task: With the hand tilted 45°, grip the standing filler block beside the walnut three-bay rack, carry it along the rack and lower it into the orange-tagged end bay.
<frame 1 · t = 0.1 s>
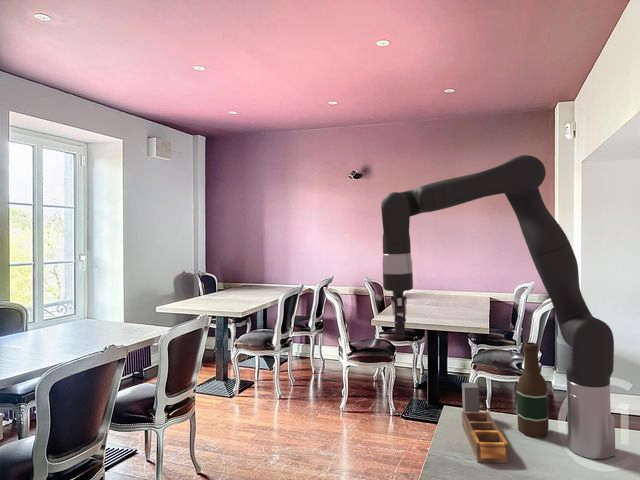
hand: (399, 334, 118), 29 cm above the table, tool pointing down, fingers open, 8 cm apart
beer bottle: (533, 432, 125), on the table
bay rack: (483, 442, 120), on the table
filler block: (471, 417, 135), on the table
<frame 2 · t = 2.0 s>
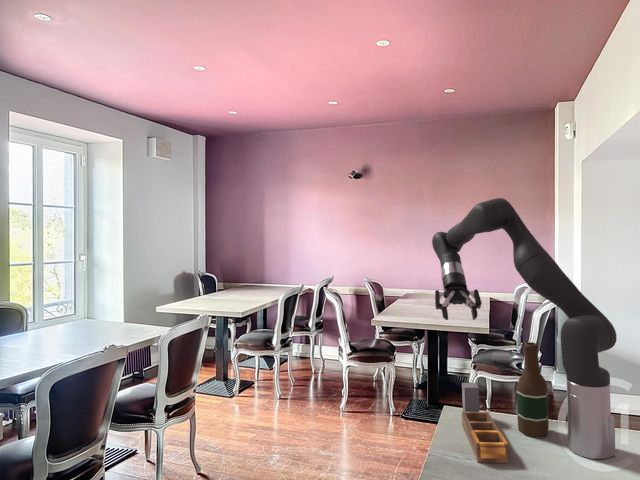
hand: (460, 318, 146), 27 cm above the table, tool tilted 45°, fingers open, 8 cm apart
nothing on the table moved.
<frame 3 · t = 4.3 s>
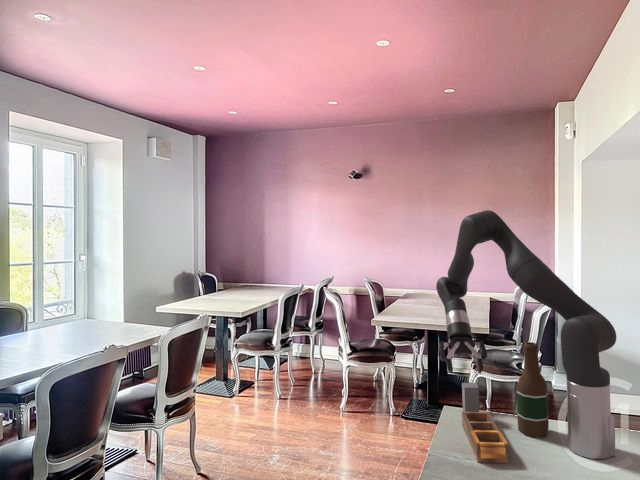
hand: (465, 372, 142), 11 cm above the table, tool tilted 45°, fingers open, 8 cm apart
nothing on the table moved.
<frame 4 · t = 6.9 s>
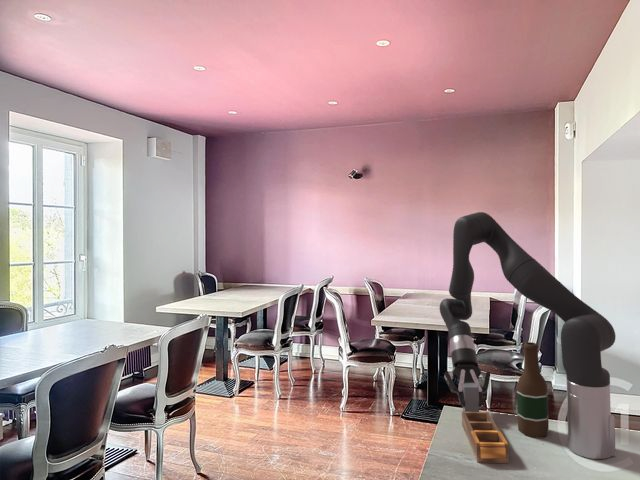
hand: (472, 405, 133), 4 cm above the table, tool tilted 45°, fingers closed on filler block, 4 cm apart
filler block: (471, 417, 135), on the table, touching gripper
everything else where it was.
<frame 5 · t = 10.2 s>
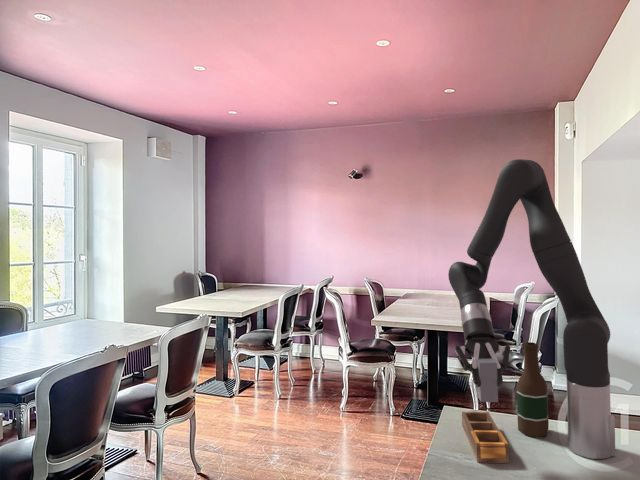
hand: (489, 385, 111), 18 cm above the table, tool tilted 45°, fingers closed on filler block, 4 cm apart
filler block: (487, 398, 113), point 14 cm above the table, touching gripper
everything else where it was.
when the fingers open (6 cm above the table, at t = 13.4 s): filler block drops 1 cm, resting on bay rack.
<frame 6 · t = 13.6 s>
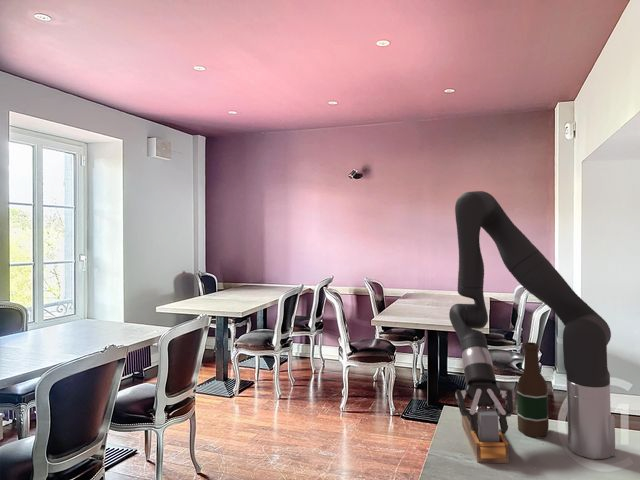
hand: (490, 432, 111), 6 cm above the table, tool tilted 45°, fingers open, 6 cm apart
filler block: (488, 450, 113), point 1 cm above the table, touching bay rack
everything else where it was.
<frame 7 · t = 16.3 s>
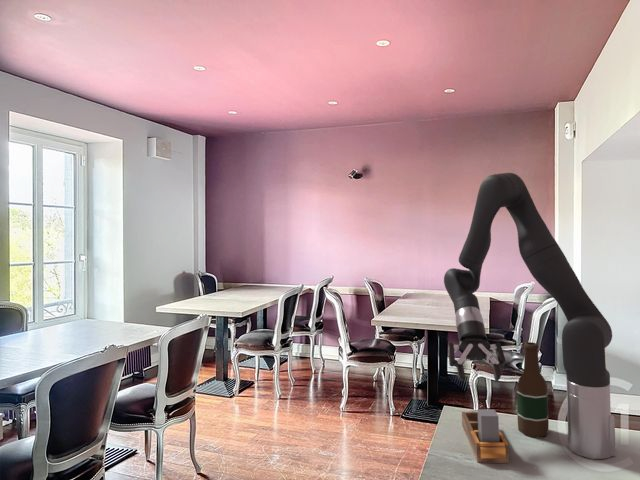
hand: (480, 379, 120), 16 cm above the table, tool tilted 45°, fingers open, 8 cm apart
nothing on the table moved.
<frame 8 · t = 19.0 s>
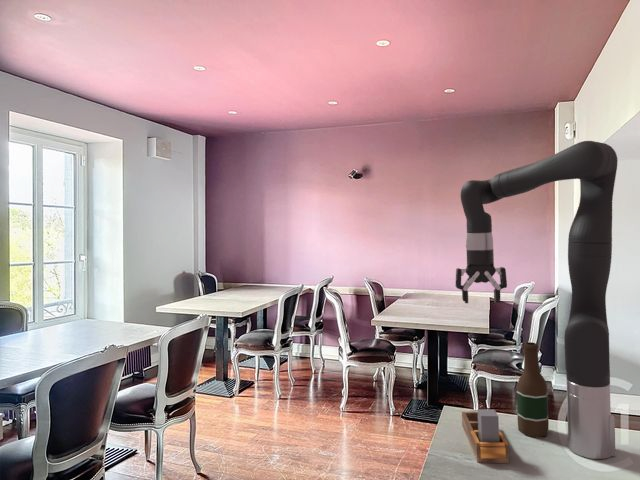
hand: (481, 302, 137), 33 cm above the table, tool pointing down, fingers open, 8 cm apart
nothing on the table moved.
at the end: filler block 0.1 cm from the target spot on the bay rack, point 1.0 cm above the bay rack's base; filler block tilted 0°; the gripper is holding nothing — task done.
